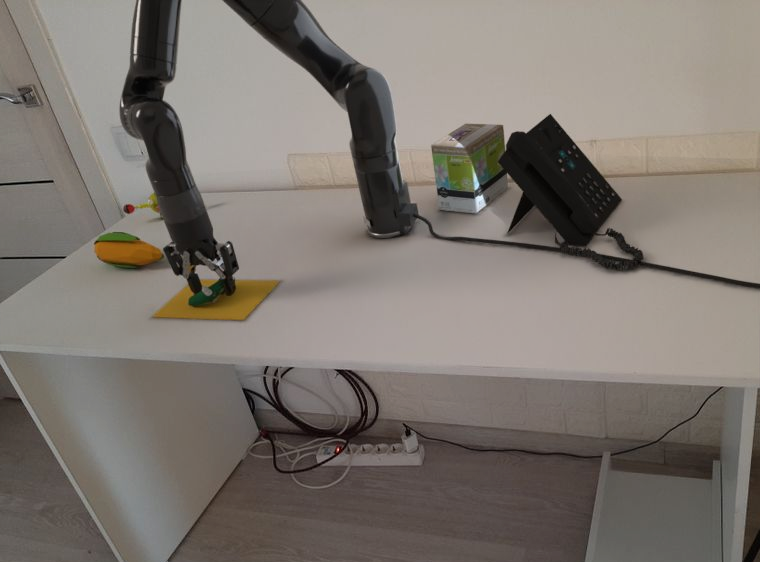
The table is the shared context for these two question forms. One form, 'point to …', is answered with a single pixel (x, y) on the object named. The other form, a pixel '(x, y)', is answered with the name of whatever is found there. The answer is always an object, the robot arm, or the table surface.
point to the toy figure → (144, 205)
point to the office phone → (563, 189)
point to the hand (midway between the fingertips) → (214, 293)
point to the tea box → (469, 167)
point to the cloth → (219, 302)
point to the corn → (125, 250)
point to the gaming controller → (207, 294)
